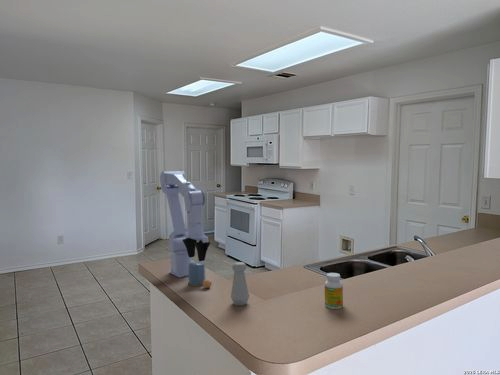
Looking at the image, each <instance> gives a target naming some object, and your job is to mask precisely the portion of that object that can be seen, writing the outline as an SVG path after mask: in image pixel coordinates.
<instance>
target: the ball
mask: <svg viewBox="0 0 500 375" xmlns="http://www.w3.org/2000/svg"><path fill="white" fill-rule="evenodd" d="M211 286H212V281H211V280H210V279H209V278H206V279H205V280H204V281H203V286H202V287H203V288H205V289H209V288H210V287H211Z"/></svg>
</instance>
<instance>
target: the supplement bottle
mask: <svg viewBox="0 0 500 375" xmlns="http://www.w3.org/2000/svg"><path fill="white" fill-rule="evenodd" d="M343 285H344V284H343V281H341V275H340V273H337V272H327V274H326V280H325V282H324V306H325V307H326V308H327V309H332V310H339V309H342V308H343V307H344V301H343V300H344V293H343V292H344V286H343Z"/></svg>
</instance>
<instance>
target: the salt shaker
mask: <svg viewBox="0 0 500 375" xmlns="http://www.w3.org/2000/svg"><path fill="white" fill-rule="evenodd" d="M246 270H247V264H246V263H245V262H244V261H237V262H234V263H233V264H232V271H233V279H232V286H231V292H230V298H231V300H232V303H233V305H235V306H240V307H241V306H245V304H246V305H247V304H248V300H249V298H250V292H249V288H248V282H247V280H246V275H245V272H246Z"/></svg>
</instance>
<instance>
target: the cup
mask: <svg viewBox="0 0 500 375" xmlns="http://www.w3.org/2000/svg"><path fill="white" fill-rule="evenodd" d="M188 267H189V275H188V282H189V284H191V285H200V284H203V281H204V280H205V279H207V278H206V277H207V276H206V264H205V262H204V261H195V262H194V261H193V262H192V263H190V264H189V266H188Z"/></svg>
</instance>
